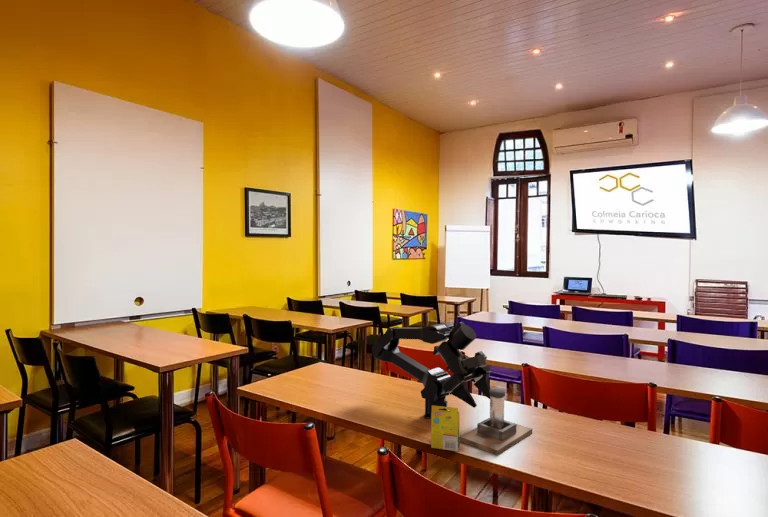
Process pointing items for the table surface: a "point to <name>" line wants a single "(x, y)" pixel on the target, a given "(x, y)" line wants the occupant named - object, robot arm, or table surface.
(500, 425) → the capped glass jar
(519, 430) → the docking board
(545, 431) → the table surface
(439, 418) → the crayon box
